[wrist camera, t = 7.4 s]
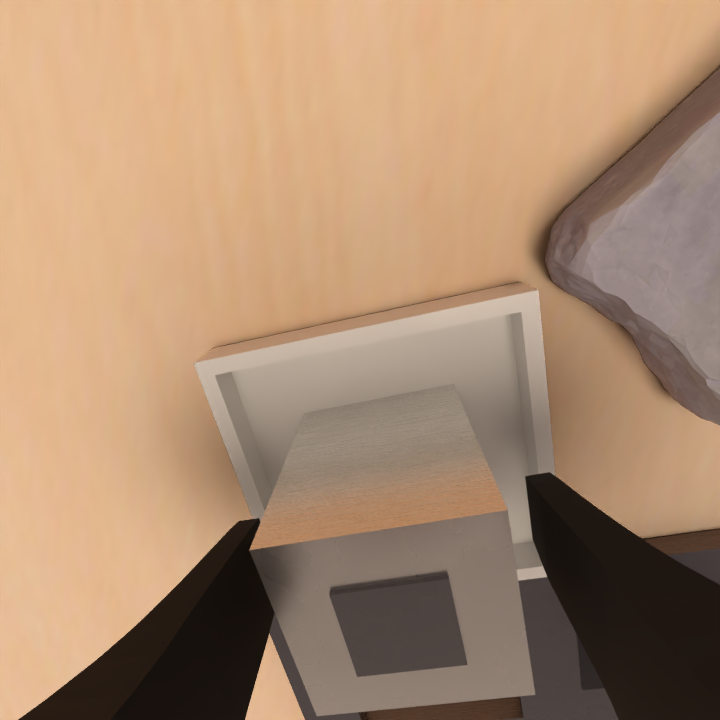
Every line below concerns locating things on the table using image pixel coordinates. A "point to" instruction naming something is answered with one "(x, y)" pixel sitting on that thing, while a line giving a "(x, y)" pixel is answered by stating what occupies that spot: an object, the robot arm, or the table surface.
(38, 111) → the table surface
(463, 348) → the tray
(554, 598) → the plate with square cutout
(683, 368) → the stone block
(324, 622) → the cube with square inset
